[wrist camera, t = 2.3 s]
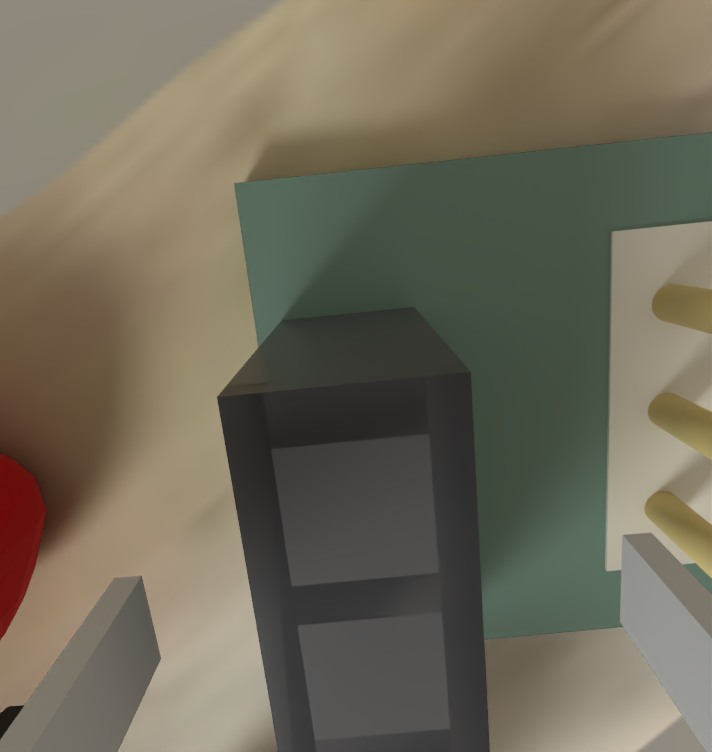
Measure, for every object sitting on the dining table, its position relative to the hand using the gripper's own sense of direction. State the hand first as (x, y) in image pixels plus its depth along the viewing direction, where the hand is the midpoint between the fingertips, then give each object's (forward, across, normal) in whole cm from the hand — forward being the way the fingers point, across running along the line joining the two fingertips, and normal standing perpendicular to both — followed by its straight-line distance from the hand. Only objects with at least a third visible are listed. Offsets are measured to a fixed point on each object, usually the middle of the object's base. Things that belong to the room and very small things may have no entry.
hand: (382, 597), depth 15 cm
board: (+9, +5, +2) cm, 10 cm away
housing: (+7, 0, 0) cm, 7 cm away
